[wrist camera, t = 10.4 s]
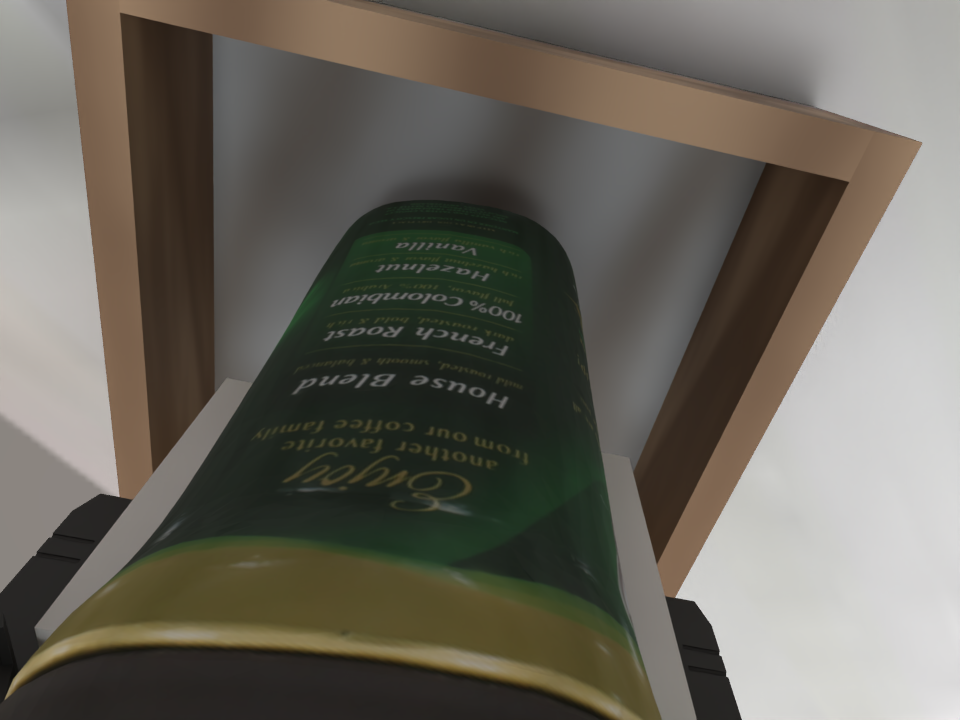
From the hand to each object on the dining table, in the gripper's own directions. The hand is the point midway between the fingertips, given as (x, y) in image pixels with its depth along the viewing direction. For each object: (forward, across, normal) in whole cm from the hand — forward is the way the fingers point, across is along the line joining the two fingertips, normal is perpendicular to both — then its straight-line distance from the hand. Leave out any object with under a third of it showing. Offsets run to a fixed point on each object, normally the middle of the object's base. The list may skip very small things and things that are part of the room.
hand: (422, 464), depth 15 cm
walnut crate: (+10, 0, 0) cm, 10 cm away
